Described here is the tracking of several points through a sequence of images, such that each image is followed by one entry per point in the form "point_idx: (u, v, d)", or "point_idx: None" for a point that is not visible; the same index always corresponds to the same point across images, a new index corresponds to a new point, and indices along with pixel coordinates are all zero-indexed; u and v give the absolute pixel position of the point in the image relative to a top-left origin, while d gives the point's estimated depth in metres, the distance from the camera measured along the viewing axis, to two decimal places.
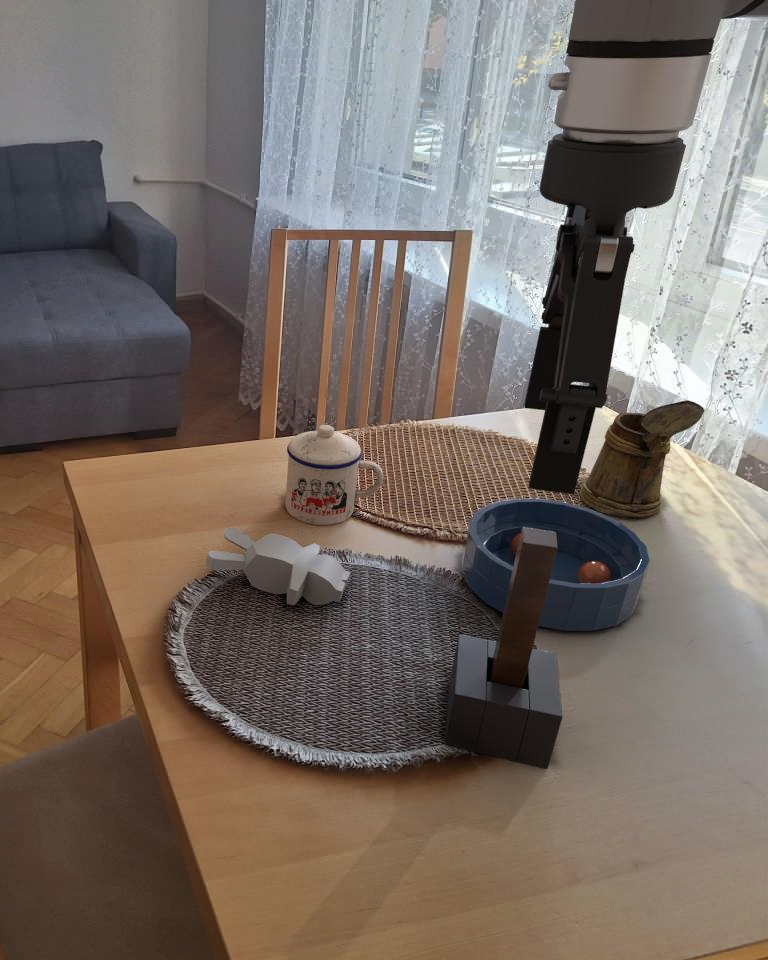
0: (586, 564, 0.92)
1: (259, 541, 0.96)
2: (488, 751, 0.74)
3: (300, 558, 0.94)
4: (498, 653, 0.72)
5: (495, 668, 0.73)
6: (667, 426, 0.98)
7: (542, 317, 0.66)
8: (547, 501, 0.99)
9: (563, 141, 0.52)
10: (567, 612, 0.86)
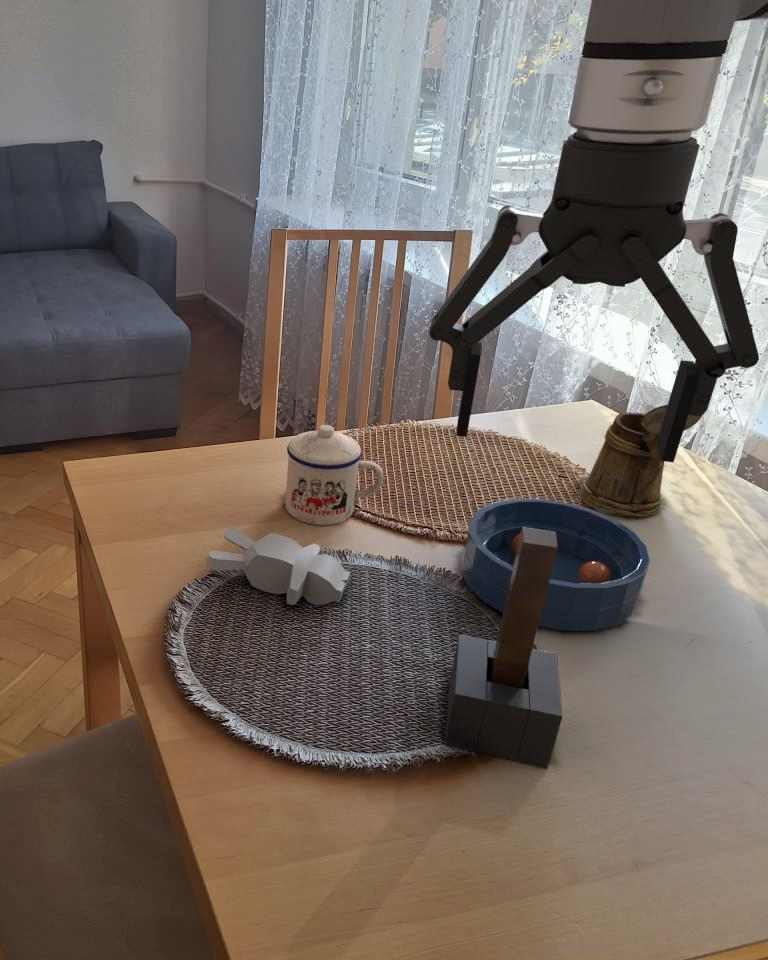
0: (586, 564, 0.92)
1: (259, 541, 0.96)
2: (488, 751, 0.74)
3: (300, 558, 0.94)
4: (498, 653, 0.72)
5: (495, 668, 0.73)
6: None
7: (465, 345, 0.61)
8: (547, 501, 0.99)
9: (669, 145, 0.50)
10: (567, 612, 0.86)
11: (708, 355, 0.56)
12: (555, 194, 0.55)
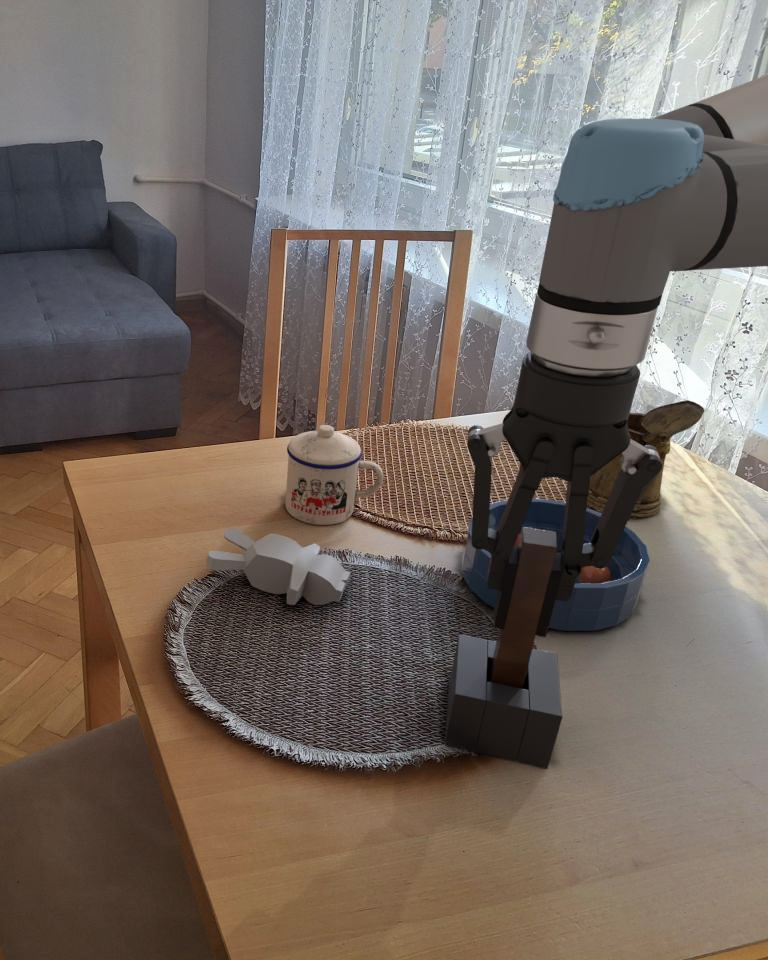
0: None
1: (259, 541, 0.96)
2: (488, 751, 0.74)
3: (300, 558, 0.94)
4: (498, 653, 0.72)
5: (495, 668, 0.73)
6: (667, 426, 0.98)
7: (504, 554, 0.68)
8: (547, 501, 0.99)
9: (612, 380, 0.58)
10: (567, 612, 0.86)
11: (574, 556, 0.66)
12: (516, 403, 0.63)
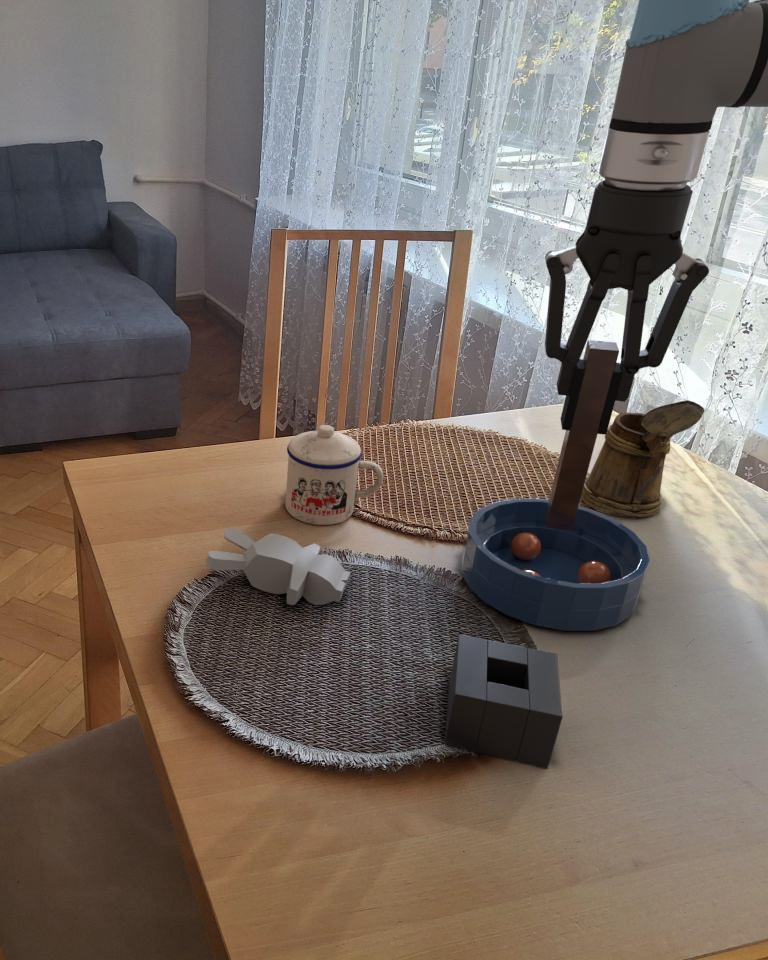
0: (586, 564, 0.92)
1: (259, 541, 0.96)
2: (488, 751, 0.74)
3: (300, 558, 0.94)
4: (564, 453, 0.87)
5: (561, 467, 0.87)
6: (667, 426, 0.98)
7: (573, 361, 0.82)
8: (547, 501, 0.99)
9: (671, 192, 0.72)
10: (567, 612, 0.86)
11: (633, 358, 0.80)
12: (589, 224, 0.77)
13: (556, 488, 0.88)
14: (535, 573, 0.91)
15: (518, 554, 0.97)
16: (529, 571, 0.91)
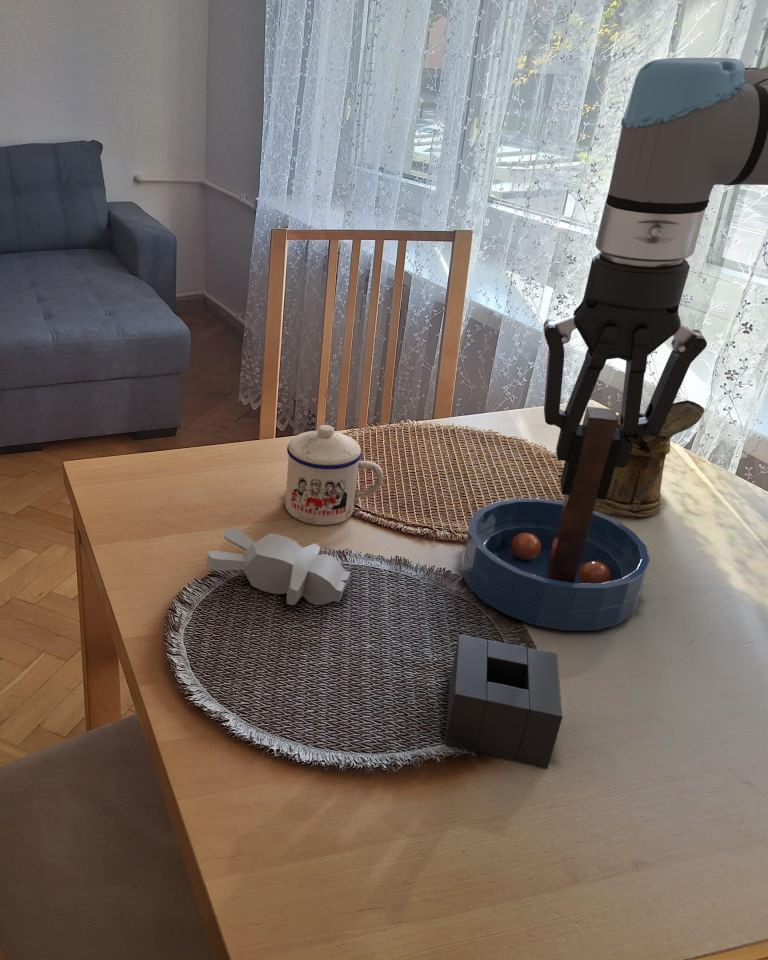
0: (586, 564, 0.92)
1: (259, 541, 0.96)
2: (488, 751, 0.74)
3: (300, 558, 0.94)
4: (564, 516, 0.87)
5: (561, 529, 0.88)
6: (667, 426, 0.98)
7: (572, 428, 0.82)
8: (547, 501, 0.99)
9: (668, 269, 0.72)
10: (567, 612, 0.86)
11: (632, 426, 0.80)
12: (586, 296, 0.77)
13: (556, 548, 0.89)
14: None
15: (518, 554, 0.97)
16: None
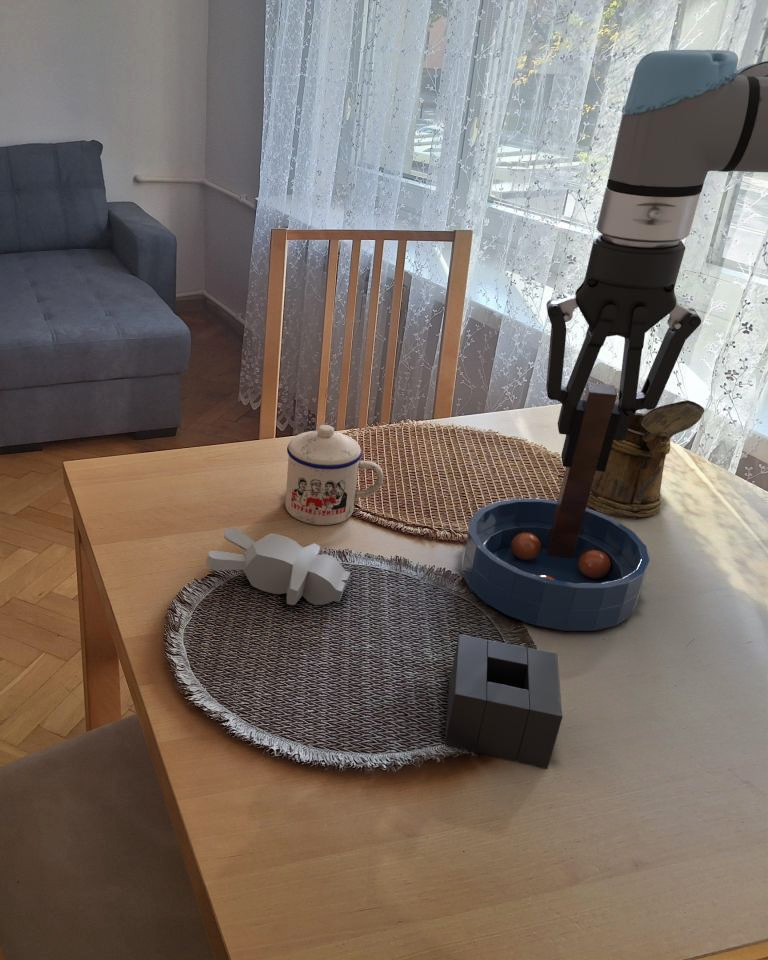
0: (598, 550, 0.95)
1: (259, 541, 0.96)
2: (488, 751, 0.74)
3: (300, 558, 0.94)
4: (565, 487, 0.91)
5: (562, 501, 0.92)
6: (667, 426, 0.98)
7: (573, 403, 0.86)
8: (547, 501, 0.99)
9: (665, 249, 0.76)
10: (567, 612, 0.86)
11: (630, 400, 0.85)
12: (587, 276, 0.81)
13: (557, 519, 0.93)
14: None
15: (518, 554, 0.97)
16: (546, 577, 0.90)
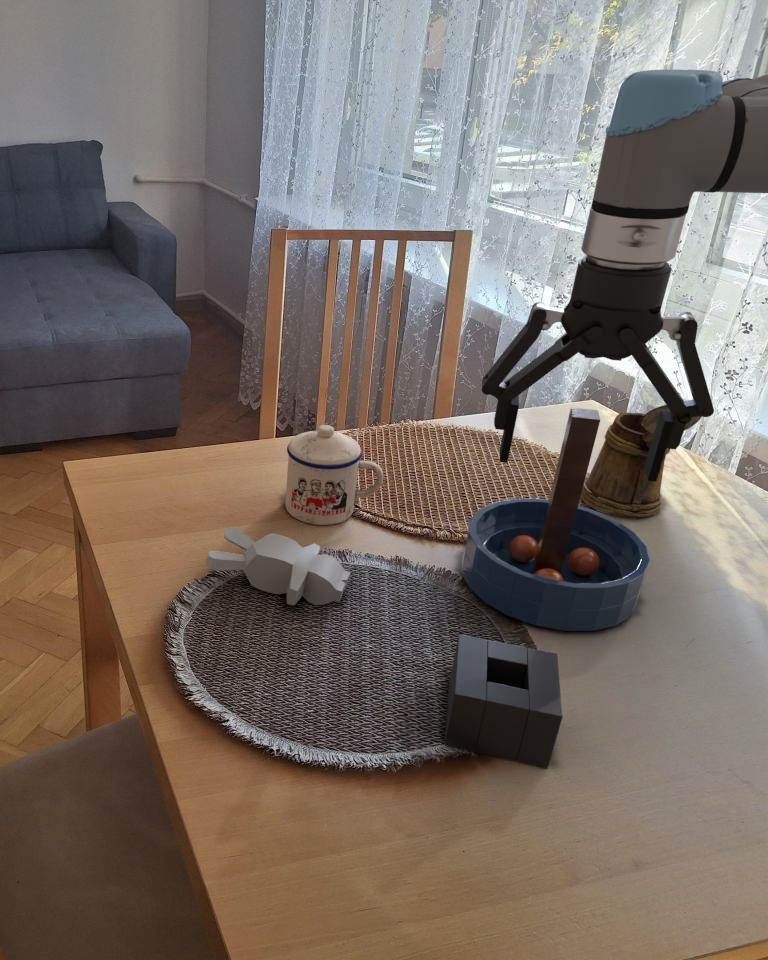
0: (579, 547, 0.96)
1: (259, 541, 0.96)
2: (488, 751, 0.74)
3: (300, 558, 0.94)
4: (550, 513, 0.91)
5: (547, 526, 0.91)
6: None
7: (507, 398, 0.86)
8: (547, 501, 0.99)
9: (650, 272, 0.75)
10: (567, 612, 0.86)
11: (679, 408, 0.81)
12: (573, 297, 0.80)
13: (542, 545, 0.92)
14: (557, 572, 0.92)
15: (515, 559, 0.97)
16: None
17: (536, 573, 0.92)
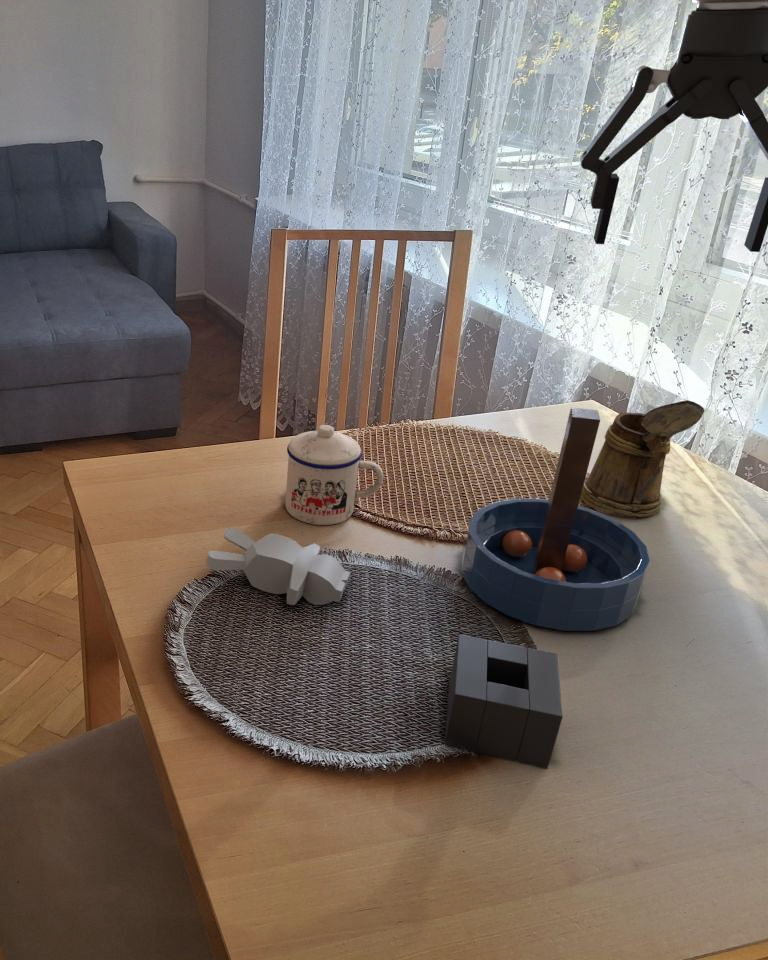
0: None
1: (259, 541, 0.96)
2: (488, 751, 0.74)
3: (300, 557, 0.94)
4: (550, 513, 0.91)
5: (547, 526, 0.91)
6: (667, 426, 0.98)
7: (607, 171, 0.85)
8: (547, 501, 0.99)
9: (767, 9, 0.74)
10: (567, 612, 0.86)
11: None
12: (681, 52, 0.79)
13: (542, 545, 0.92)
14: None
15: (512, 554, 0.98)
16: None
17: (539, 570, 0.92)
